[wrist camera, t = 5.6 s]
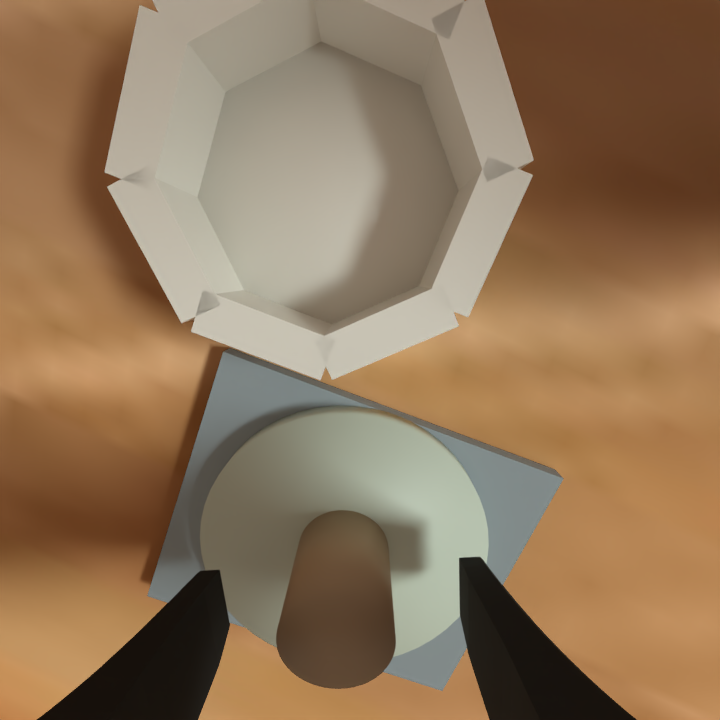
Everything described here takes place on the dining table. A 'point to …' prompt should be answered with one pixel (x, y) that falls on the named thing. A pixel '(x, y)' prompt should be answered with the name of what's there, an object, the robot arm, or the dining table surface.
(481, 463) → the mat
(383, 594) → the cover
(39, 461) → the dining table surface
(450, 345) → the dining table surface
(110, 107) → the dining table surface
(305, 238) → the octagonal storage bin
